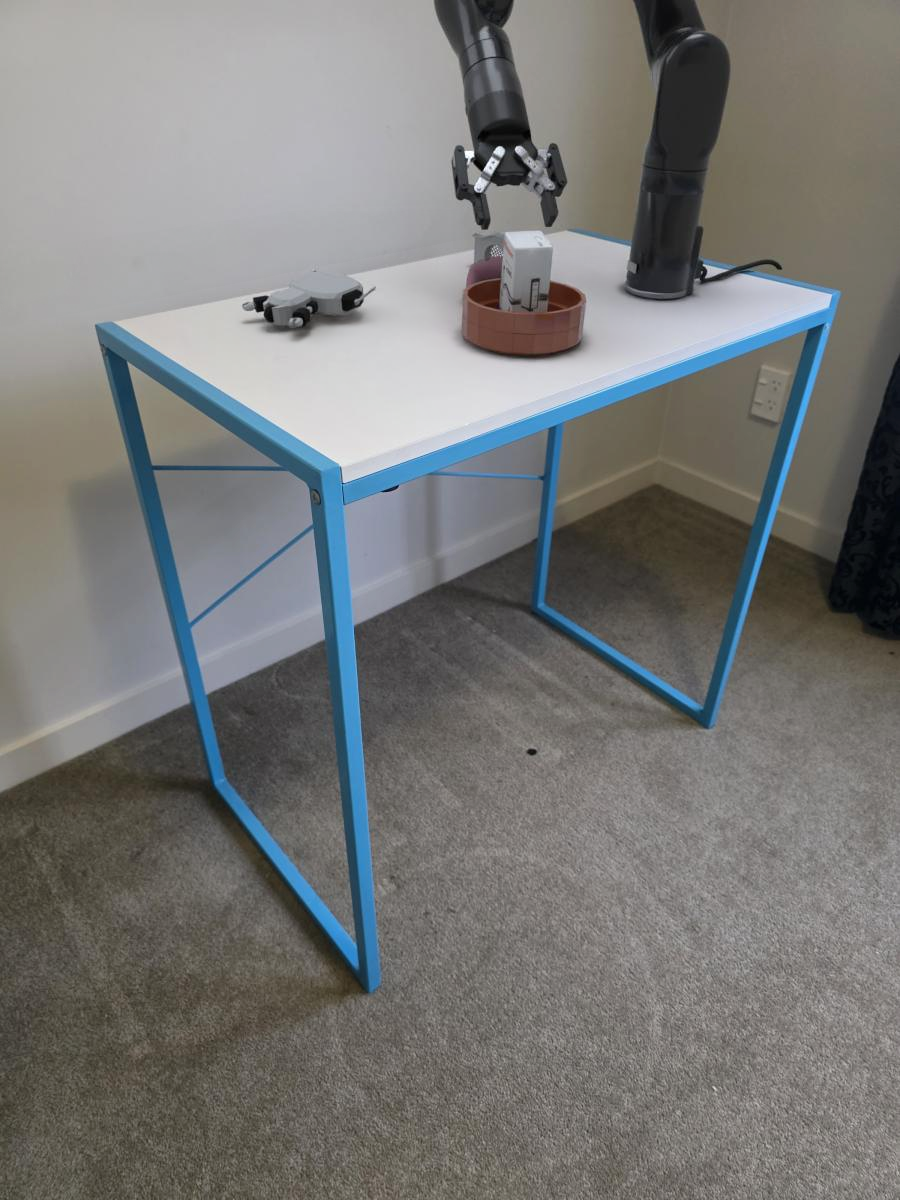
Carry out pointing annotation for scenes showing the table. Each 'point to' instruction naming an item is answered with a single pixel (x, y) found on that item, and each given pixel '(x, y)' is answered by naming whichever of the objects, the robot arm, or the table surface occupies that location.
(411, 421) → the table surface
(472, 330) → the bowl
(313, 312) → the robot toy
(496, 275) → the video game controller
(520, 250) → the ink box
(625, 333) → the table surface
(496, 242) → the lattice window wall
